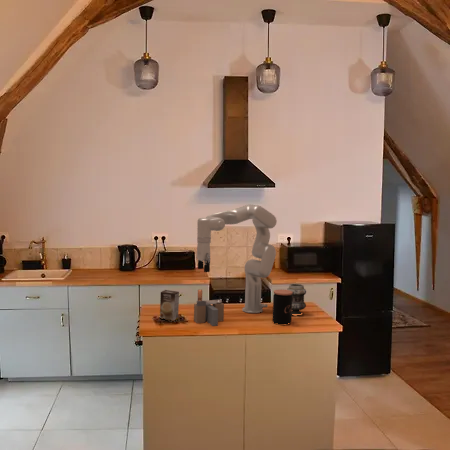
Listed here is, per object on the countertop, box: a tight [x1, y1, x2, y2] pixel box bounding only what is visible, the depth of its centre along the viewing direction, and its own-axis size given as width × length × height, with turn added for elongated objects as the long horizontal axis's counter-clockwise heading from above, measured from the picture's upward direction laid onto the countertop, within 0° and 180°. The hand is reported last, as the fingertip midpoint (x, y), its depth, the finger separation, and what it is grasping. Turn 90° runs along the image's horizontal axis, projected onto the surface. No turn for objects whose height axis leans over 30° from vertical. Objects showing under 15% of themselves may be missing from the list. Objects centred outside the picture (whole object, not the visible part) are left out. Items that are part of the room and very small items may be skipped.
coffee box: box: [159, 289, 180, 320], centre depth 287 cm, size 9×6×16 cm
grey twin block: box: [193, 300, 225, 327], centre depth 287 cm, size 16×20×12 cm
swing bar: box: [197, 289, 223, 305], centre depth 287 cm, size 14×4×8 cm, turn 111°
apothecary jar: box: [286, 283, 307, 314], centre depth 307 cm, size 12×12×18 cm
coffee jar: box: [271, 289, 293, 324], centre depth 288 cm, size 11×11×18 cm
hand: (203, 270), depth 286 cm, fingers open, 9 cm apart
